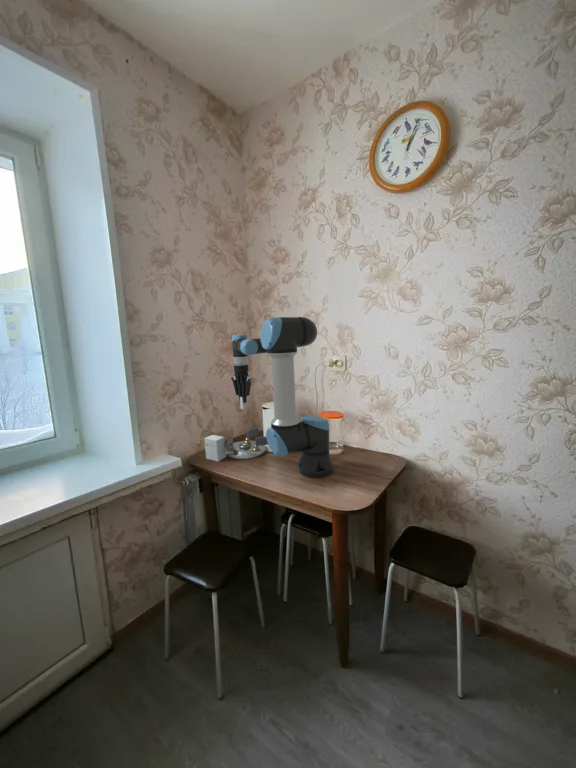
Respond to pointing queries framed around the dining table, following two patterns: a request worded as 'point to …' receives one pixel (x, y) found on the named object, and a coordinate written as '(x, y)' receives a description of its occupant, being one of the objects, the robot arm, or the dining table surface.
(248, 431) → the knob right
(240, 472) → the dining table surface
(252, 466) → the dining table surface
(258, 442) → the knob near
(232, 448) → the knob left
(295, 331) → the robot arm
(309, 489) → the dining table surface
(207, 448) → the small box
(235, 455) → the plate
